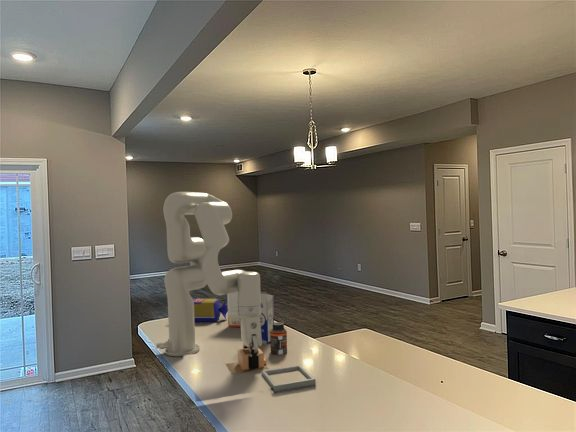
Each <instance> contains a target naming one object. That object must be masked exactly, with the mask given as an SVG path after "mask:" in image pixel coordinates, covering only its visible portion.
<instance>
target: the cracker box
mask: <svg viewBox="0 0 576 432" xmlns="http://www.w3.org/2000/svg"><path fill="white" fill-rule="evenodd" d="M226 295H227V297H226V298H227V299H226V303H227V308H228V312H227V325H228V327H229V326H230V328H231V327H232V328H241V316H239V315H238V292H234V293H229V294H226Z"/></svg>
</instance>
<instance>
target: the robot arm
mask: <svg viewBox="0 0 576 432" xmlns="http://www.w3.org/2000/svg"><path fill="white" fill-rule="evenodd" d="M162 210H163V217H164V221H165V226H166V247H167V257H168V258H167V259H168V260H169V262H171V263H173V264H185V263H186V264H187V263H189V265H185V266H177V267H173V268H171V269H169V270H168V271H167V272H166V273H165V275H164V278H163V279H164V287H165V291H166V292H165V293H166V297H167V309H168V310H167V313H168V315H167V316H168V318H167V319H168V338H167V340H165V341H164V342H156V343H155V345H156V347H155V348H156V349H160V350H164V354H165V355H167V356H170V357H183V356H187V355H188V356H190V355H193V354H195V353H197V352H198V353H199V351H200V345H199V344H197V343H196V331H195V330H196V327H195V325H196V322H195V320H194V302H193V299H194V298H193V297H192V296H191V294H190V292H191V291H196V290H202V289H203V288H206V286H207V287H208V289H209V290H210V291H211V292H212V293H213V295H216V296H224V295H227V294H229V293H234V292H238V315H239V316H241V327H240V338H241V342H242V343H243V344H242V349H245V348H249V356H248V359H249V369H254V368H258V367H259V353H258V347H261V346H263V345H262V337H261V324H260V317H259V315H261V292H262V290H261V275H260V273H259V272H257V271H246V270H243V269H233V270H231V269H230V270H224V271H222V270H221V268H220V265H219V260H218V259H219V253H220V250H221V249H223V248H225V247H226V246H227V245H228V244H229V242H230V237H229V234H228V231H227V229H226V226H225V225H227V224H229V223H230V222H231V221H232V218H233V212H232V208H231V206H230V205H229V204H228V202H226V201H223V200H222V199H220V198H217V197H216V196H214V195H211V194H210V193H206V192H200V191H199V192H197V191H175V192H172V193H170V194H169V195H168V196H167V197H166V198H165V200H164V203H163V209H162ZM188 215H191V216H193V215H194V217H195V220H196V223H197V225H198V229H199V231H200V234H201V237H202V238H201V237H199V236H198V237H197V236H191V227H190V223H189V221H188V219H187V218H186V217H185V216H188ZM252 348H253V350H252V352H251V349H252Z"/></svg>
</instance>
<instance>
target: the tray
mask: <svg viewBox="0 0 576 432" xmlns="http://www.w3.org/2000/svg"><path fill="white" fill-rule="evenodd" d="M298 370H299V371H300V372H301V374H303V375H304V376H305V377H306V378H307V379H301V380H296V381H290V382H284V383H278V384H276V382H275V381H274V380H273V379H272V378H271V377H270V375H272V374H279V373H285V372H290V371H298ZM261 375H262V376H263V377H264V379H265V380H266V381H267V383H269V385H270V386H271V388H270V390H271V391H272V392H273V393H274V394H277V393H284V392H289V391H295V390H301V389H307V388H311V387H317V386H316V384H317V382H316V378H315V377H314V376H313V375H311V373H309V372H308V371H307V370H306V369H305V368H304V367H303V366H302V365H300V364H298V365H292V366H285V367H279V368H277V367H276V368H272V369H264V370H261Z"/></svg>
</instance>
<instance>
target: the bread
mask: <svg viewBox="0 0 576 432" xmlns="http://www.w3.org/2000/svg"><path fill="white" fill-rule="evenodd" d="M192 299H193V302H194V320H195V323H212V322H213V323H215V322H216V321H217V320H219V319H220V318H221V315H222V316H223V318H224V319H225V320H227V314H228V305H226V303H227V299H225V300H224V301H223V304H222V306H220V299H219V298H192Z"/></svg>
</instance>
